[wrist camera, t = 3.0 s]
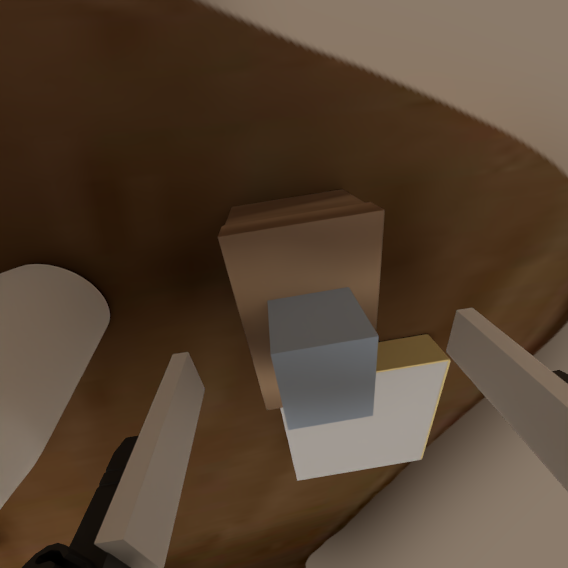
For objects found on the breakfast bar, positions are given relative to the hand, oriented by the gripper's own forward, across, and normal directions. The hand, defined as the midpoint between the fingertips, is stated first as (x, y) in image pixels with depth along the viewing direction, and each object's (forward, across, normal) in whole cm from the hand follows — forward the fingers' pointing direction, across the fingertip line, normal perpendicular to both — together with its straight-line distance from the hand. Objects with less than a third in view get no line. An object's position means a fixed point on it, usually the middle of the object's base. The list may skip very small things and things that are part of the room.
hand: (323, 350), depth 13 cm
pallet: (+7, 0, 0) cm, 7 cm away
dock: (+7, +4, -16) cm, 18 cm away
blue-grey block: (+1, 0, 0) cm, 1 cm away
